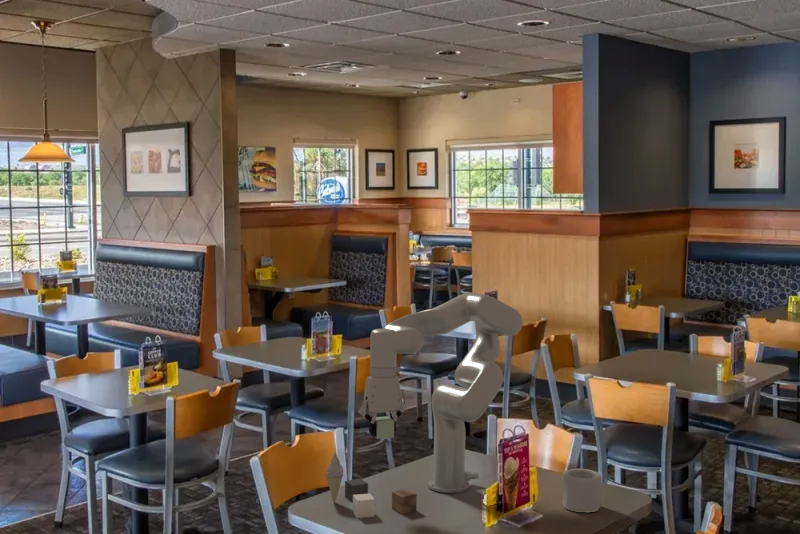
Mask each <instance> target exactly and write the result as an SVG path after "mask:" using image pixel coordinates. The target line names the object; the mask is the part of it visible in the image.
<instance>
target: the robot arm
mask: <svg viewBox="0 0 800 534" xmlns="http://www.w3.org/2000/svg"><path fill="white" fill-rule="evenodd" d="M469 322H474V325H475V326H474V327H475V340H474V344H473V345H472V347H470V349H469V351H468V352H467V353H466V355H465V356H464V357H463V359H462V360H461V361H460V363H459V365H457V367H456V369H455V371H454V381H455V382H456V383H457V384H458V385H455V384H451V383H444V384H439V386H437V387H436V388H435V389H434V390H433V392H432V395H431V402H430V403H431V410H432V414H433V424H434V425H433V426H434V427H433V430H434V431H433V432H434V434H433V478H432V479H430V480H429V481H428V483H427V487H428V488H429V489H430V490H432V491H434V492H438V493H442V494H443V493H444V494H456V493H459V494H460V493H463V492H466V491H468V490H469V488H470V482H469V481H470V480H478V479H479V478H480V476H479V475H480V474H479V472H478V471H476V472H471V471H466V470H465V467H466V465H465V463H466V458H465V457H466V426H465V422H467V423H472V422H475V421H477V420H479V419H480V418H481V417H482V416H483V414H484V413H485V412H486V410H487V409H488V407H489V406H490V404H491V403H492V402H493V400H494V399H495V397H496V396H497V394H498V393H499V391H500V390H501V388H502V386H503V381H504V373H503V369H502V368H501V367H500V365H499V364H497V363H496V361H497V359H498V357H499V355H500V348H501V347H500V341H499V340H500V339H499V336H503V337H513V336H515V335H517V334H518V333H519V332H520V331H521V330H522V327H523V317H522V315H521V313H520V312H519V311H518V310H517V309H515V308H514V307H513V306H512V307H511V306H510V305H508V304H506V303H504V302H502V301H501V300H499V299H497V298H496V297H493V296H490V295H488V294H483V293H473V292H464V293H462V294H460V295H459V294H458V296H456V297H453V298H451V299H449V300H447V301H446V302H444V303H442V304H440V305H438V306H435V307H433V308H429V309H425V310H422V311H418V312H413V313H409V314H407V315H404V316H402V317H399V318H397V319H395V320H393V321H392V322H390V323H388V324H387V325H385V326H384V327H383V328H376V329H373V330H372V331H371V333H370V337H369V338H370V340H369V341H370V343H369V344H370V346H369V347H370V348H369V349H370V353H369V354H370V355H369V360H370V361H369V365H370V366H369V376H367V377H366V381H365V386H364V391H363V392H364V393H363V394H364V395H363V403H362V404H361V406H360V407H359V409H358V410H357V411H358V413H359V414H360V415H361V416H363V418H365V419H366V420H367V422H369V423H368V431H369V432H368V433H369V434H370V436H371V437H373V438H375V437H376V431H377V424H376V423H375V420H376V417H378V416H377V415H378V414H379V413H388V415H389V418H391V419H393V420H394V436H395V434H396V430H397V421H398V420H399V418H400V416H401V415H402V413H404V412H405V411H406V410H407V409H408V407H407V406H406V404H405V402H404V401H402V396H401V395H402V394H401V392H402V391H401V385H400V384H401V383H400V379H399V376H397V375H398V373H399V372H401V367H400V366H397V361H398V360H397V356H398V355H397V354H408V355H411V354H412V355H413V354H416V353H418V352H419V351H420V350H421V349H422V348H423V346H424V344H425V338H424V337H425V336H428V337H429V336H441V335H446V334H449V333H450V332H452V331H455V330H456V329H458V328H460V327H462V326H464V325H465V324H468V323H469ZM366 411H368V413H367V412H366Z"/></svg>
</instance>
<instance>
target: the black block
mask: <svg viewBox="0 0 800 534" xmlns="http://www.w3.org/2000/svg"><path fill="white" fill-rule="evenodd" d="M358 494H369V483H368V482H367V481H365V480H364V479H362V478H355V479H348V480H345V481H344V498H346V499H347V500H348V501H350V502H351V503H353V495H358Z"/></svg>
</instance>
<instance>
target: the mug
mask: <svg viewBox="0 0 800 534" xmlns="http://www.w3.org/2000/svg"><path fill="white" fill-rule="evenodd" d="M561 483H562V486H561V487H562V506H563V508H564V509H565V508H566V509H565V510H567V509H568V510H567V511H569V510H572V511H580V512H581V511H583V512H584V511H585V512H586V511H592V510H596V509H599V508H600V509H601V507H600V506H601V505H602V504H601V490H602V489H601V488H602V475H601V474H600V473H599V472H598V471H596V470H592V469H586V468H570V469H567V470H565V471H564V472H563V473H562V482H561ZM572 511H571V512H572Z"/></svg>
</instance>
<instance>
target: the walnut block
mask: <svg viewBox="0 0 800 534" xmlns="http://www.w3.org/2000/svg"><path fill="white" fill-rule="evenodd" d="M417 498H418V494H417V493H416V492H414V491H412V490H410V489H407V488H405V489H400V490H395V491H391V509H392V510H393V511H395V512H398V513H399V514H400V515H404V514H405V515H406V514H408V513H409V514H410V513H413V512H417V507H418V506H417V504H418V501H417V500H418V499H417Z"/></svg>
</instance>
